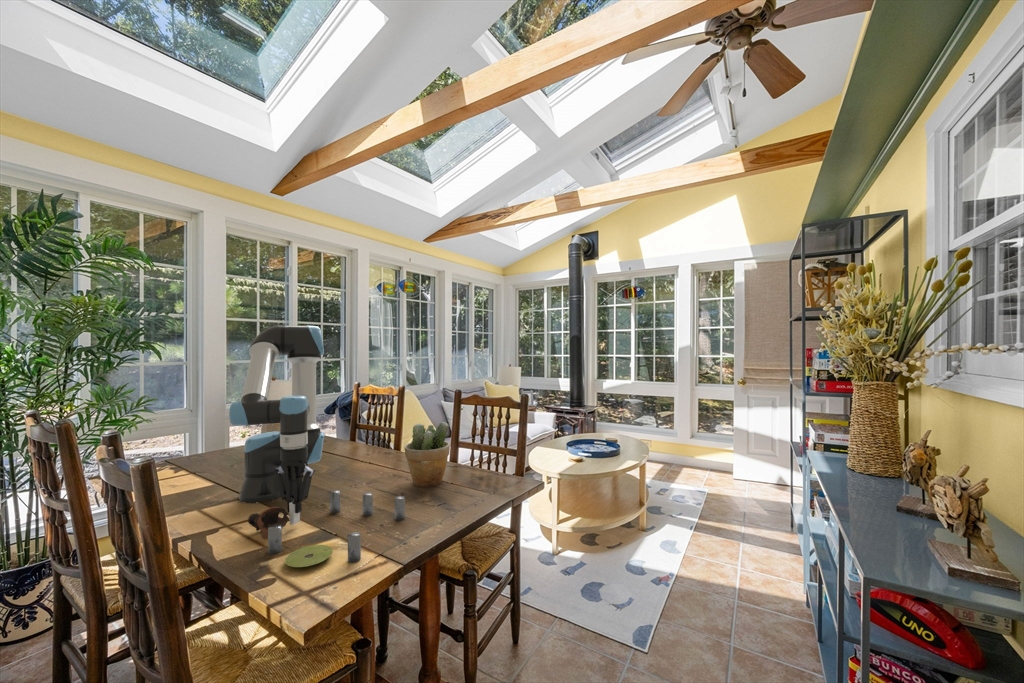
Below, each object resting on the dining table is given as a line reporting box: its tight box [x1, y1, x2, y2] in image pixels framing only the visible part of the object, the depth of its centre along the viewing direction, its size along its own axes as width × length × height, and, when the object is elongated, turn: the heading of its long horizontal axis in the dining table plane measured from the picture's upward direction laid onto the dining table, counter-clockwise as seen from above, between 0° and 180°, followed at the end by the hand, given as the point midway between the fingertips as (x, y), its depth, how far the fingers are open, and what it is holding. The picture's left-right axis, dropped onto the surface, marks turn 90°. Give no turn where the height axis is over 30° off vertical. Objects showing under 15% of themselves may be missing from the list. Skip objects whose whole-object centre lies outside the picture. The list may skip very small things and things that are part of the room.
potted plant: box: [403, 421, 451, 488], centre depth 169 cm, size 18×19×25 cm
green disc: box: [284, 544, 334, 568], centre depth 109 cm, size 11×11×2 cm
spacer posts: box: [267, 489, 406, 564], centre depth 125 cm, size 27×30×7 cm
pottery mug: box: [247, 506, 290, 540], centre depth 125 cm, size 12×9×8 cm
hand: (294, 522), depth 128 cm, fingers closed
